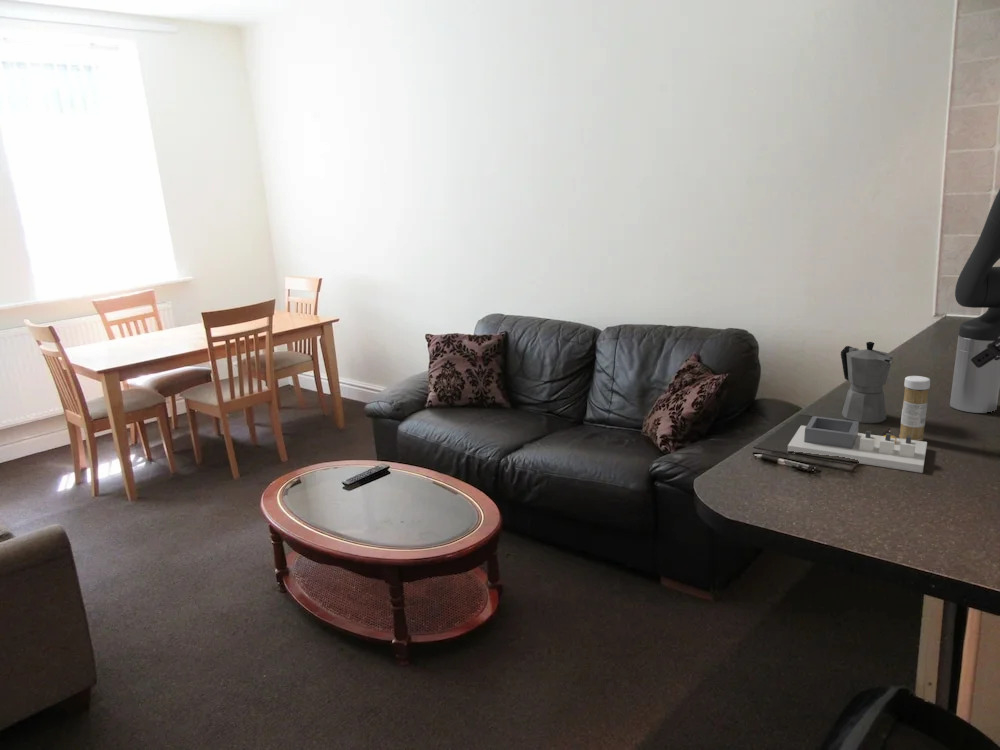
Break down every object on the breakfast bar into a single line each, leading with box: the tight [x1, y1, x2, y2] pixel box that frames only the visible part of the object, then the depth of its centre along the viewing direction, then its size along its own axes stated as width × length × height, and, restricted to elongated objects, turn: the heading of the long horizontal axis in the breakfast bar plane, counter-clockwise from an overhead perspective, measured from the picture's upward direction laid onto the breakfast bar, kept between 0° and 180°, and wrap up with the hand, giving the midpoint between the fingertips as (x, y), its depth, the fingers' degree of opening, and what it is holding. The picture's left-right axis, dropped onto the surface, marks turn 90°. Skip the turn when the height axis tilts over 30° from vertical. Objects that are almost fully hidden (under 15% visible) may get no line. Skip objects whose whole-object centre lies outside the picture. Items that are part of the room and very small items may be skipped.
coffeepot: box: [840, 341, 894, 424], centre depth 161 cm, size 15×9×18 cm, turn 13°
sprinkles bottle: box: [898, 375, 931, 441], centre depth 146 cm, size 5×5×14 cm
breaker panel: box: [787, 415, 928, 474], centre depth 142 cm, size 14×24×5 cm, turn 57°
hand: (983, 360), depth 134 cm, fingers open, 8 cm apart
